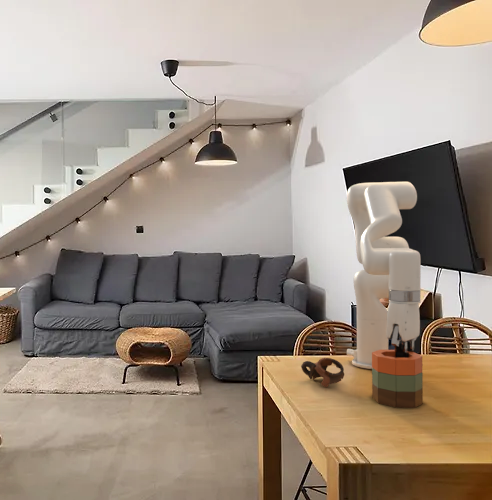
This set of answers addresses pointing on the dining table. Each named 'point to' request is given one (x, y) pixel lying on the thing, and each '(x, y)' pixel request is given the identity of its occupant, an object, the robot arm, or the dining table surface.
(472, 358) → the dining table surface
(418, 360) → the ring top
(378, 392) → the ring bottom
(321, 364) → the brown knot
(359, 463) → the dining table surface
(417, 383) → the ring middle
